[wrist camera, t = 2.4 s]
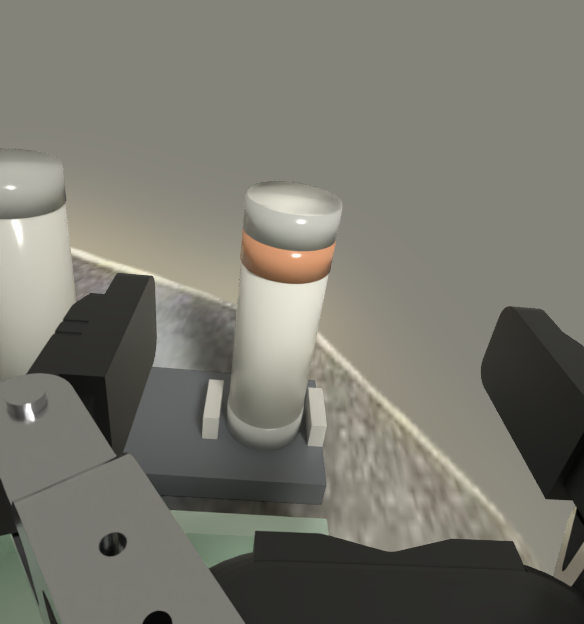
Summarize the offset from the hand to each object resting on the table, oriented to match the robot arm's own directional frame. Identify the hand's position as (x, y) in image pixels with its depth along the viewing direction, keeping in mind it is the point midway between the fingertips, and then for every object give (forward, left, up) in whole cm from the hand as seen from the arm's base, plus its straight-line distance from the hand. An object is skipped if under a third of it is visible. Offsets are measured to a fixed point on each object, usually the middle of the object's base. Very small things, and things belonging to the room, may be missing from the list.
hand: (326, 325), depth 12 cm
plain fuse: (-12, +11, -14) cm, 21 cm away
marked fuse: (0, +11, -14) cm, 17 cm away
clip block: (-6, +11, -15) cm, 20 cm away
